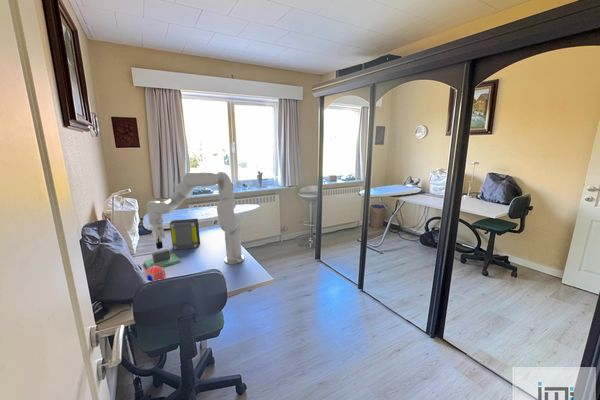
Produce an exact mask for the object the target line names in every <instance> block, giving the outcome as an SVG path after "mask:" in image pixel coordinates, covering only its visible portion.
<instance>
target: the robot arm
mask: <svg viewBox="0 0 600 400" xmlns="http://www.w3.org/2000/svg"><path fill="white" fill-rule="evenodd" d="M214 186H217V188H218V189H217V190H218V194H219V195H218V196H219V201H218V202H217V204H216V205H217V206H216V212H217V217H218V222H219V227H220V228H221V230H222V231H223V232H224V241H225V253H226V256H225V258H224V259H223V261H224V262H225V263H226V264H229V265H236V264H239V263H242V262H243V261H244V260H245V255H243V254H242V241H241V220H240V216H239V214H237V213H236V212H235V208H236V205H237V204H236V200H235V193H234V189H233V184H232V181H231V178H230V176H229V175H228V174H227V173H226V172H224V171H223V170H221V169H212V170H210V171H199V170H191V171H188V172H186V173H184V175H183V176H182V180H181V181H180V182H179V183H178V184H177V185H176V187H175V191H174V192H173V193H172V195H171V196H170V197H169V198H167V199H166V200H164V201H160V200H151V201H147V204H146V208H147V215H148V222H149V225H150V226H151V232H152V236H153V237H154V239H155V245H156V249H157V250H161V249H163V248H164V246H163V239H165V238H166V236H165V235H166V234H165V229H164V225H163V223H164V217H163V215H166V214H169V213H170V212H173V211H174V210H176V209H177V208H178V207H179V206H180V205H181V204H182V203H183V201H185V199H186V198H187V197H188V196H189V195H190V194H191V193H192V192H193V191H194V190H195V189H196V188H201V187H214Z"/></svg>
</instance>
